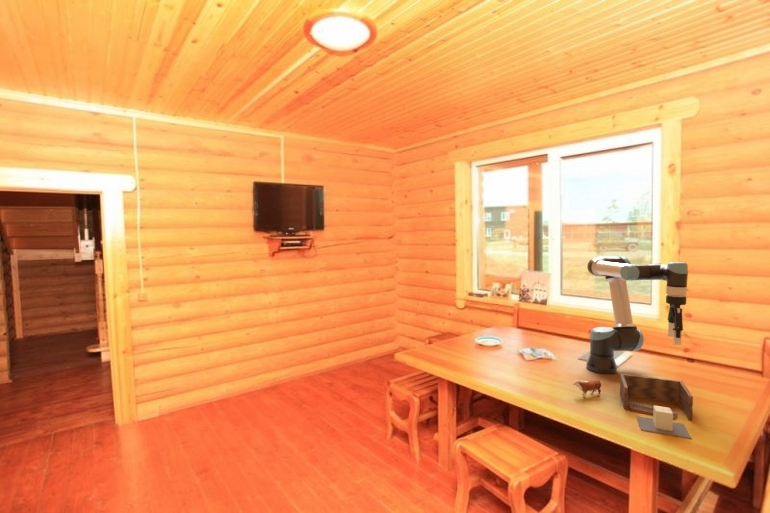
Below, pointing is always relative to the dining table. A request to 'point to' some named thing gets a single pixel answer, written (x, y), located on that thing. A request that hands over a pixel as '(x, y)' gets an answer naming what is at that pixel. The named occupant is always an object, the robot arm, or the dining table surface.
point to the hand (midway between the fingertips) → (674, 340)
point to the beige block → (662, 418)
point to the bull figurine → (588, 386)
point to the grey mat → (648, 425)
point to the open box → (656, 391)
